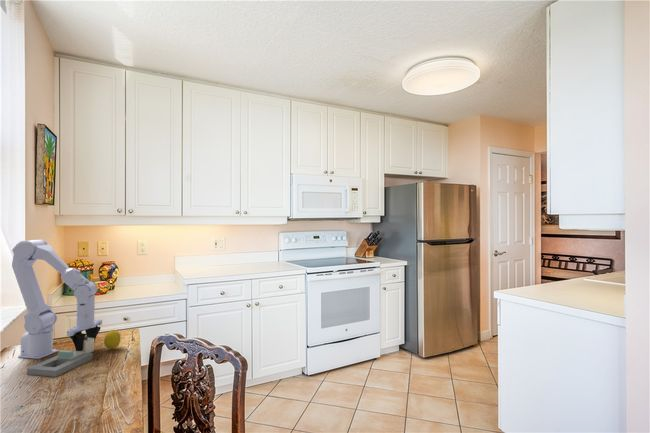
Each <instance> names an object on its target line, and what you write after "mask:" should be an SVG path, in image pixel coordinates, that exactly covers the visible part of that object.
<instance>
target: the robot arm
mask: <svg viewBox="0 0 650 433" xmlns="http://www.w3.org/2000/svg"><path fill="white" fill-rule="evenodd" d="M11 251H12V253H13V256H12V263H11V267H12V270H13V274H14V276H15V279H16V281H17V284H18V287H19V289H20V293H21V295H22V299H23V301H24V304H25V307H26V308H25V309H26V312H25V314H24V315H23V319H24V324H23V326H24V327H23V328H24V330H25V331H26V332H24V333H23V334H22V336H21V338H20V355H18V356H17V357H18V358H23V359H24V358H25V359H26V358H27V359H36V360H40V359H42V358H45V357H47V356H50V355H53V354H54V353H58V351H60V350H59V349H55V348H53V341H54V325H55V324H56V322H57V320H58V316H57V314H56V312H54V311H53V310H52V307H51V306H50V305H48V304H47V303H46V302H45V298H44V296H43V293H42V290H41V287H40V285H39V281H38V280H37V276H36V274H35V271H34V268H33V266H34V264H35V263H36V261H37V260H42V261H44V262H46V263H47V264H49V265H50V266H51V267H52V269H54V270H55V271H57V272H58V273H59V274H60V279H61V280H62V282H63V283H64V284H65V285H67V286H68V287H69V288H70V289H71V290H72V291H73V296H74V297H75V298H76V325H75V326H74V327H72V328H70V329H68V330H66V336H67V337H69V338H70V339H71V340H72V342H73V345H74V349H75V351H82V350H83V342H84V338H85V336H88V338H94V343H95V341H96V338H97V336H98V334H99V333H100V331H101V326H102V325H103V319H96V320H95V309H96V308H95V307H96V306H95V299H96V298H95V297H96V296H95V294H96V293H97V292H98V285H97V284H96V282H94V281H90V279H89V278H86V277H85V276H84V275H83V274H82V273H81V270H80V269H77V268H75V267H73V268H71V267H69V265H67V263H65V261H64V260H63V259H62V258H61V257H60V256H59V255H58V254H57V253H56V252H55V250H54V249H53V247H52V245H50V244H49V243H48V242H47V241H46V240H44V239H40V238H38V239H30V240H21V241H19V242H17V243H16V245H15V246H14V247H13V248H12V250H11ZM84 331H85V333H83V332H84Z"/></svg>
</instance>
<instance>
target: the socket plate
mask: <svg viewBox="0 0 650 433" xmlns="http://www.w3.org/2000/svg"><path fill="white" fill-rule="evenodd" d="M57 356H58V354H57V355H55V356H53V357H50V358H48V359H46V360H44V361H41V362H38V363H36V364H35V365H34V364H33V365H32V366H29V367H27V368H26V375H31V376H43V377H51V378H56V377H59V376H60V375H62V374H64V373H66V372H68V371H71V370H72V369H74V368H77V367H78V366H80V365H83V364H85V363H87V362H89V361H91V360H93V359H94V354H93V353H92V352H90V353H85V354H83V355H81V356H78V357H76V358H74V359H72V360H69V359H57Z"/></svg>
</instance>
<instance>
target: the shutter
mask: <svg viewBox="0 0 650 433" xmlns="http://www.w3.org/2000/svg"><path fill="white" fill-rule="evenodd" d="M85 353H86V352H84V351H76V350H64V349H61V350H59V351H57V355H58V356H57V355H56V356H57V359H69V360H72V359H74V358H76V357H78V356H81V355H83V354H85Z"/></svg>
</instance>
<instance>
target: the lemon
mask: <svg viewBox="0 0 650 433" xmlns="http://www.w3.org/2000/svg"><path fill="white" fill-rule="evenodd" d="M103 343H104V347H106V349H110V350H111V351H112V350H113V351H114V349H115V348H117V347H118V346H119V345H120V343H121V334H120V333H119V331H117V330H115V329H111V330H109V331H107V333H106V334H105V335H104V339H103Z"/></svg>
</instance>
